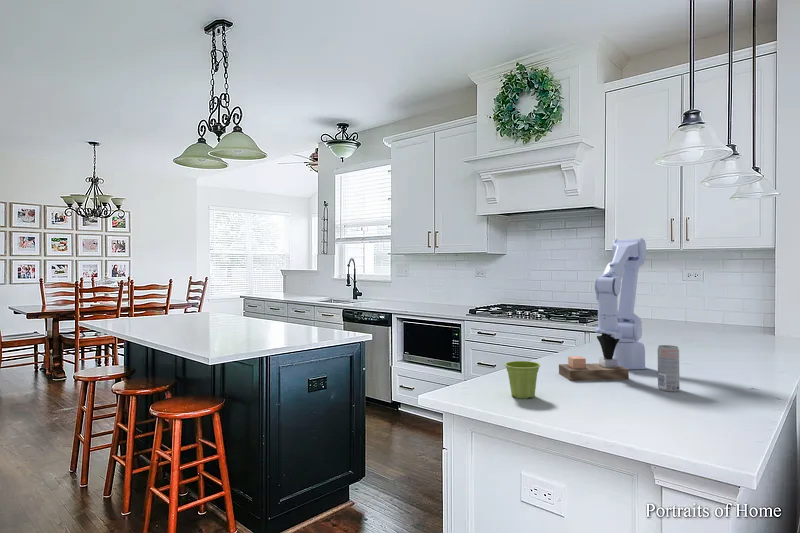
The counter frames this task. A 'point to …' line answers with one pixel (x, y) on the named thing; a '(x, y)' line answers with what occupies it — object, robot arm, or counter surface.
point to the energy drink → (668, 368)
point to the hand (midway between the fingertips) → (608, 358)
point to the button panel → (593, 372)
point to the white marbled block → (608, 363)
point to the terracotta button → (576, 362)
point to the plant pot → (522, 378)
